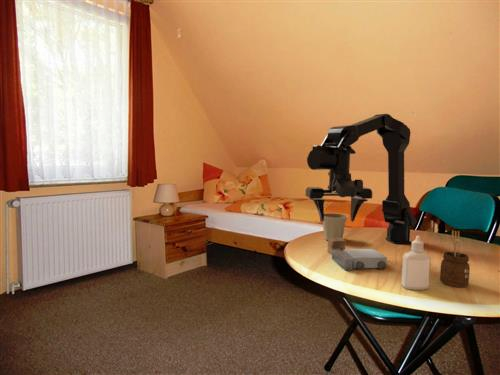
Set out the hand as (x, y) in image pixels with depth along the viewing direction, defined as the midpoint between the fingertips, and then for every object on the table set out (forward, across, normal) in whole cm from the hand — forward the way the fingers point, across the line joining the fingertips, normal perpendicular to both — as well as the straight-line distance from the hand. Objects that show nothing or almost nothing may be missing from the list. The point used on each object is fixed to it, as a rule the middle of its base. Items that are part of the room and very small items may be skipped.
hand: (337, 221), depth 105 cm
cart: (+10, +4, -10) cm, 15 cm away
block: (+10, 0, 0) cm, 10 cm away
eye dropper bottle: (+10, +9, -27) cm, 30 cm away
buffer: (+10, -2, -10) cm, 14 cm away
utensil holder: (+10, +20, -25) cm, 34 cm away
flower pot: (+10, +5, +17) cm, 20 cm away
